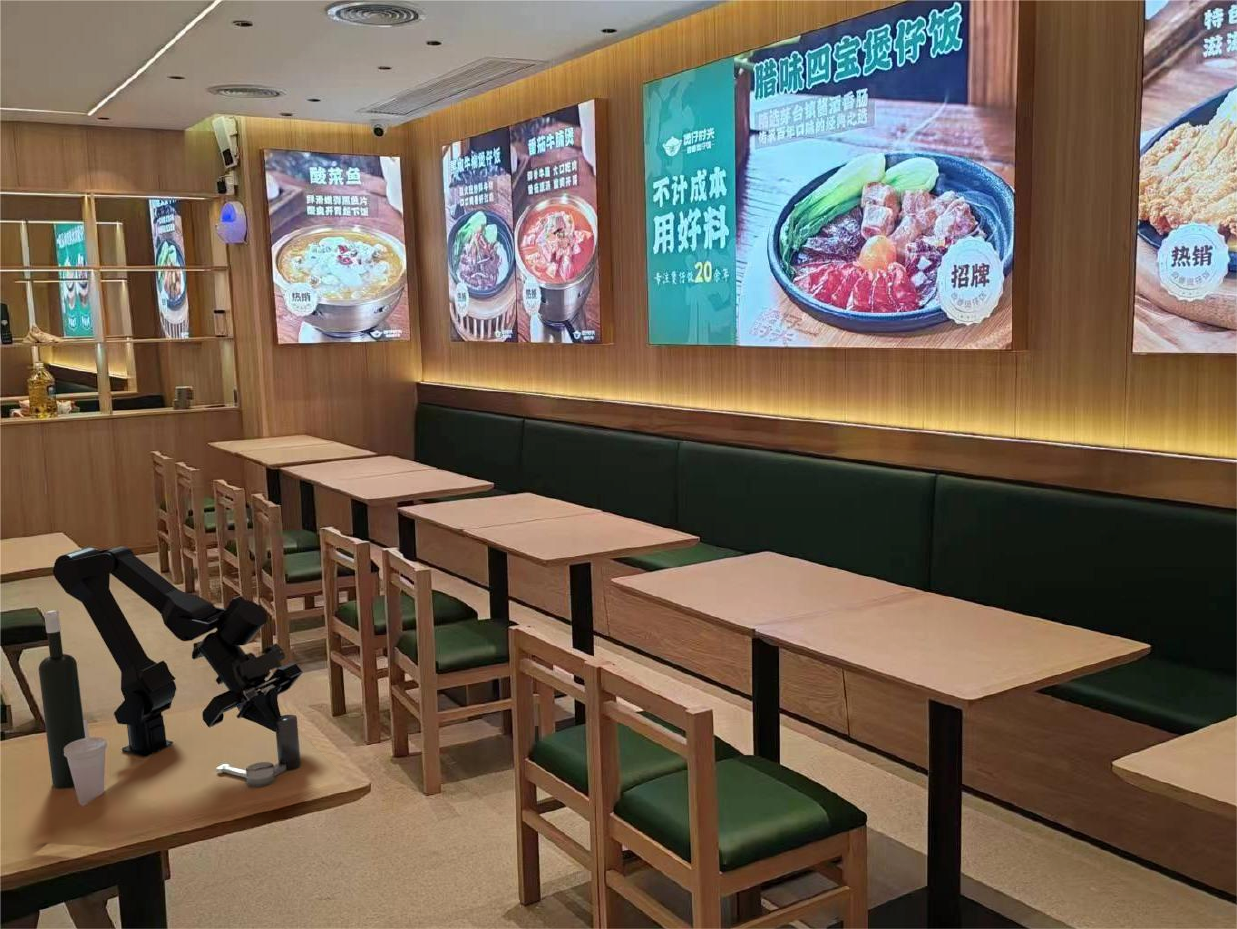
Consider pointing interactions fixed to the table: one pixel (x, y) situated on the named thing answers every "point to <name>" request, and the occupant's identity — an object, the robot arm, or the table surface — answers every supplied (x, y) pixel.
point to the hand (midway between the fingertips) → (282, 732)
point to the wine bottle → (60, 702)
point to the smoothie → (87, 765)
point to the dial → (287, 755)
